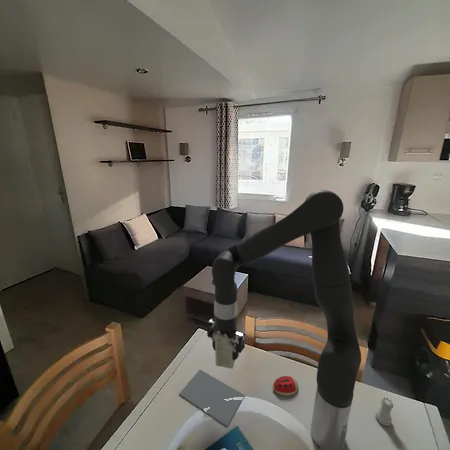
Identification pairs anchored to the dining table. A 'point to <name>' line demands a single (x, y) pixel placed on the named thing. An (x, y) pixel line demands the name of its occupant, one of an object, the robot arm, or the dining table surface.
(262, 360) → the dining table surface
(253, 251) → the robot arm
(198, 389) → the mat
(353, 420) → the dining table surface
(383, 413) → the rook chess piece
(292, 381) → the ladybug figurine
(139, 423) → the dining table surface
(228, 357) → the skincare box
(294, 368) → the dining table surface
